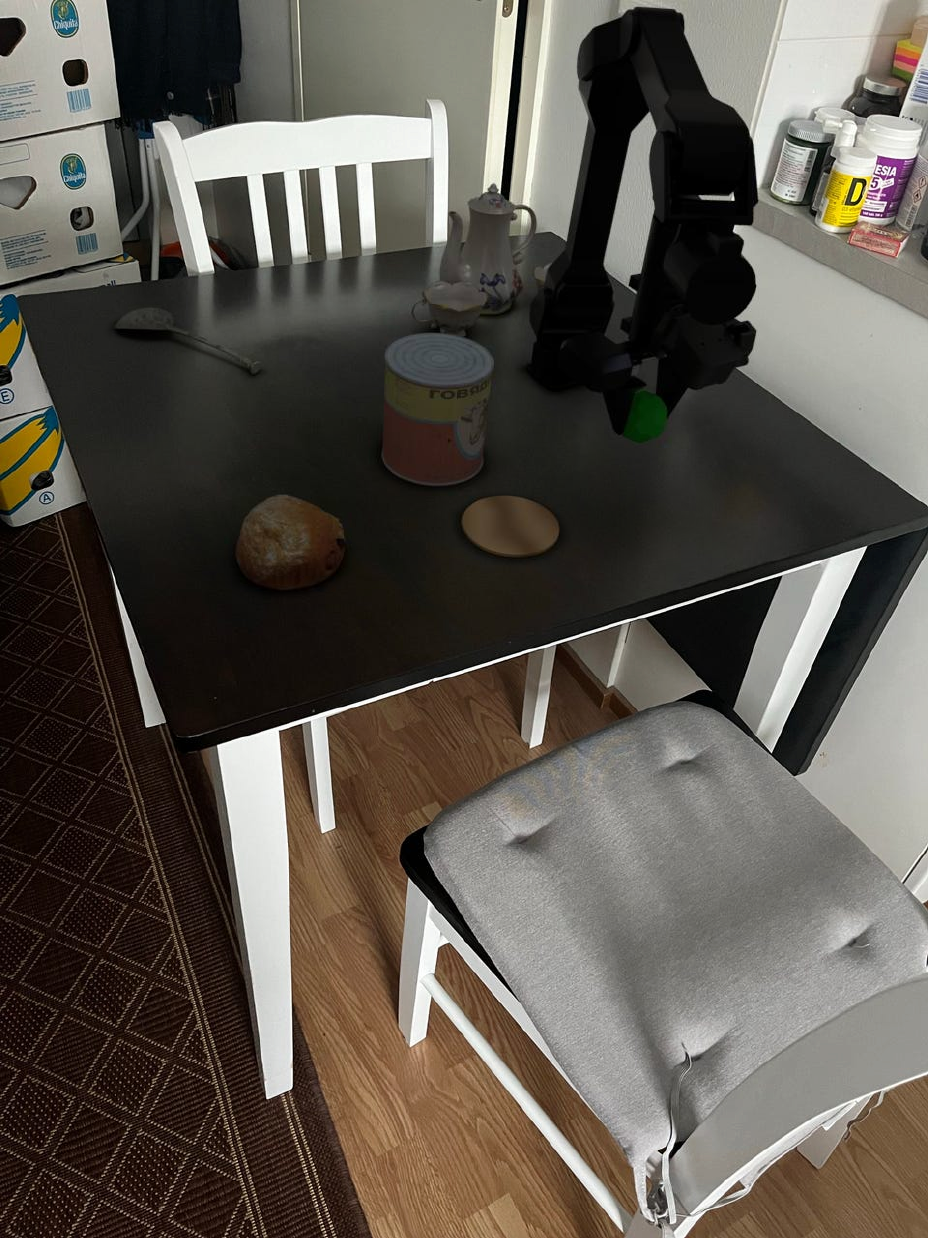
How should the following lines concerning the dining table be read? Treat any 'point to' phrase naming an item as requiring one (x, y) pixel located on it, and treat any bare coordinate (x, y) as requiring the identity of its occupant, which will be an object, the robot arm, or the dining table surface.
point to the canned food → (435, 408)
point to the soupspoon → (173, 330)
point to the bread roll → (289, 544)
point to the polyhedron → (645, 417)
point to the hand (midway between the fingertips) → (638, 427)
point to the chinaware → (479, 266)
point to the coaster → (510, 526)
